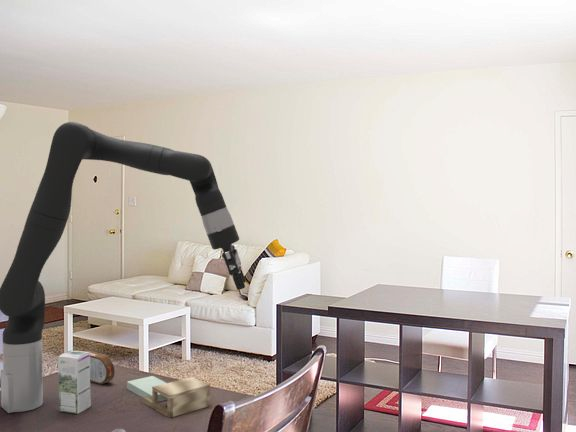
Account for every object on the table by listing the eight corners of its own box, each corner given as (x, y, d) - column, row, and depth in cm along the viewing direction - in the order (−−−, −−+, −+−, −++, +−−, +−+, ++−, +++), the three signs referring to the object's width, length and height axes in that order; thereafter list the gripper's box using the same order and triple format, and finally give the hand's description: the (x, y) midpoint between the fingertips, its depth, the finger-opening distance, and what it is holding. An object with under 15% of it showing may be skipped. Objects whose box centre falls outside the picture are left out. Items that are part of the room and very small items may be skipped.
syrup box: (91, 406, 150) (91, 351, 149) (77, 414, 144) (76, 357, 144) (72, 404, 151) (72, 349, 151) (57, 412, 146) (57, 355, 145)
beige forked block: (169, 417, 142) (169, 395, 142) (142, 403, 152) (142, 382, 152) (209, 405, 151) (209, 384, 150) (181, 392, 160) (181, 372, 160)
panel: (152, 405, 152) (152, 395, 152) (126, 390, 163) (126, 381, 163) (179, 398, 157) (179, 389, 157) (152, 384, 169) (152, 375, 169)
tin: (115, 384, 167) (115, 355, 167) (106, 387, 164) (106, 358, 164) (81, 375, 175) (81, 347, 175) (72, 378, 172) (72, 350, 172)
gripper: (208, 231, 158) (229, 286, 159) (204, 235, 143) (227, 296, 144) (234, 221, 158) (255, 276, 159) (232, 224, 144) (255, 285, 145)
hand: (241, 285), depth 152 cm, fingers open, 8 cm apart
